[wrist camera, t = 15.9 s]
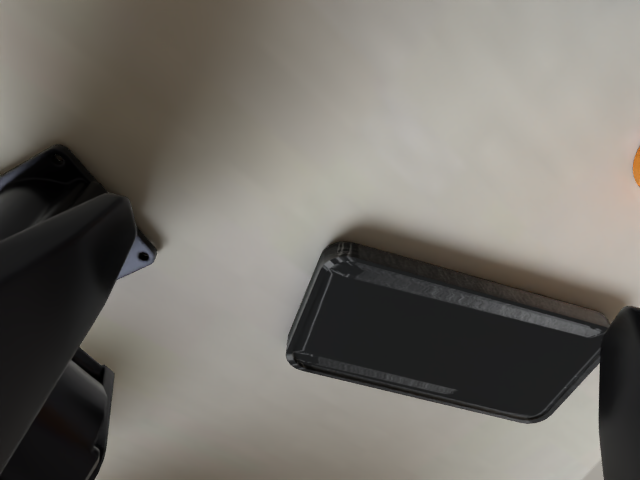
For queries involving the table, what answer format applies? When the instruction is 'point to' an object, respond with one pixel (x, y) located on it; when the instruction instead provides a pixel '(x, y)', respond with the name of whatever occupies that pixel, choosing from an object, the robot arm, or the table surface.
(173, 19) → the table surface
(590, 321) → the phone
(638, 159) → the glue stick
